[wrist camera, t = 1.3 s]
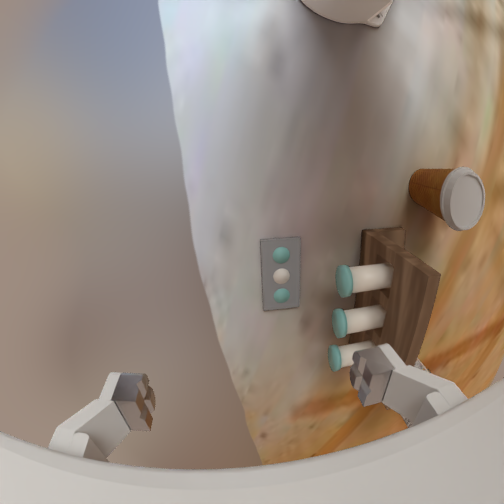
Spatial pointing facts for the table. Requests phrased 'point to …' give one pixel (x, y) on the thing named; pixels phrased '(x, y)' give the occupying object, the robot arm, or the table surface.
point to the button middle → (357, 319)
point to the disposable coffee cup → (450, 195)
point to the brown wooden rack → (397, 294)
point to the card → (280, 272)
